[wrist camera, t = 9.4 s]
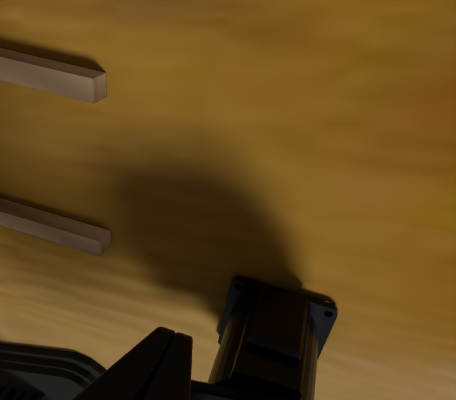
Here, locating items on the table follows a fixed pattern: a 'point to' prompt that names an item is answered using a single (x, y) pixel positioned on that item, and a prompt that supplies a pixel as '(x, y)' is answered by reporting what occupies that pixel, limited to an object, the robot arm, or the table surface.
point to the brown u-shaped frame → (70, 87)
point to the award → (44, 373)
